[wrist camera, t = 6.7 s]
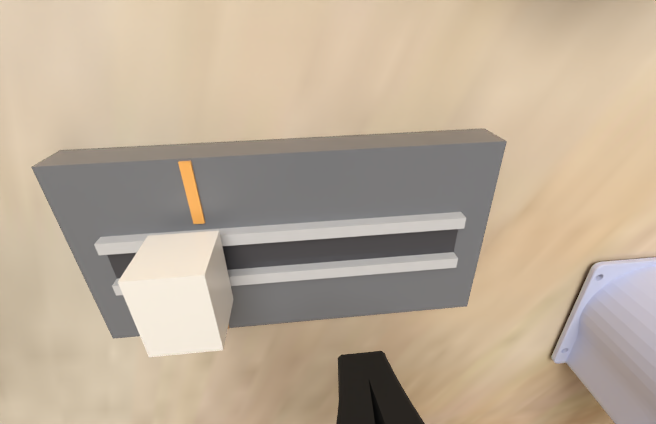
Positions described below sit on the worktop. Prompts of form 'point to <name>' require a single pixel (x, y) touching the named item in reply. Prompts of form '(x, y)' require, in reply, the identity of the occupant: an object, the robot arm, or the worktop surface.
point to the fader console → (288, 218)
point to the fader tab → (179, 293)
